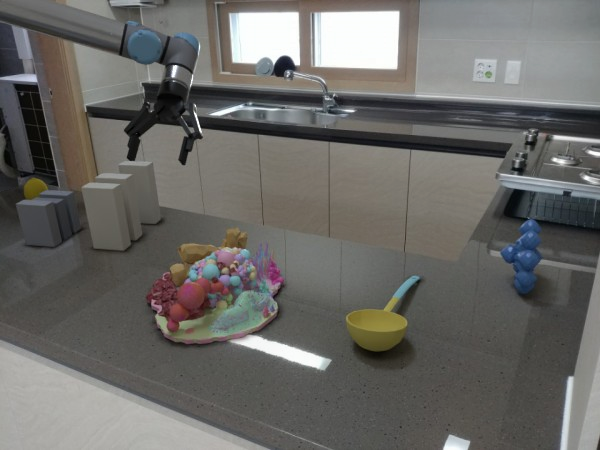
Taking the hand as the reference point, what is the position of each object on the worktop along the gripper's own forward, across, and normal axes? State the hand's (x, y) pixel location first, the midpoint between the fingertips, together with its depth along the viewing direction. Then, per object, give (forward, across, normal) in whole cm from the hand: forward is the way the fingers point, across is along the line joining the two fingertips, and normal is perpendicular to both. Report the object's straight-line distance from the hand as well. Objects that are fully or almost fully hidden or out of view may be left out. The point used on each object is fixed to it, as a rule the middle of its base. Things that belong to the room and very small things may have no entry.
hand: (155, 161), depth 130 cm
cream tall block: (+15, -1, -1) cm, 15 cm away
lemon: (+13, +30, -4) cm, 33 cm away
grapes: (+27, -80, +11) cm, 86 cm away
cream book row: (+23, -1, +7) cm, 25 cm away
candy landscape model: (+36, -31, +20) cm, 52 cm away
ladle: (+36, -60, +20) cm, 73 cm away
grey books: (+23, +15, +7) cm, 29 cm away
